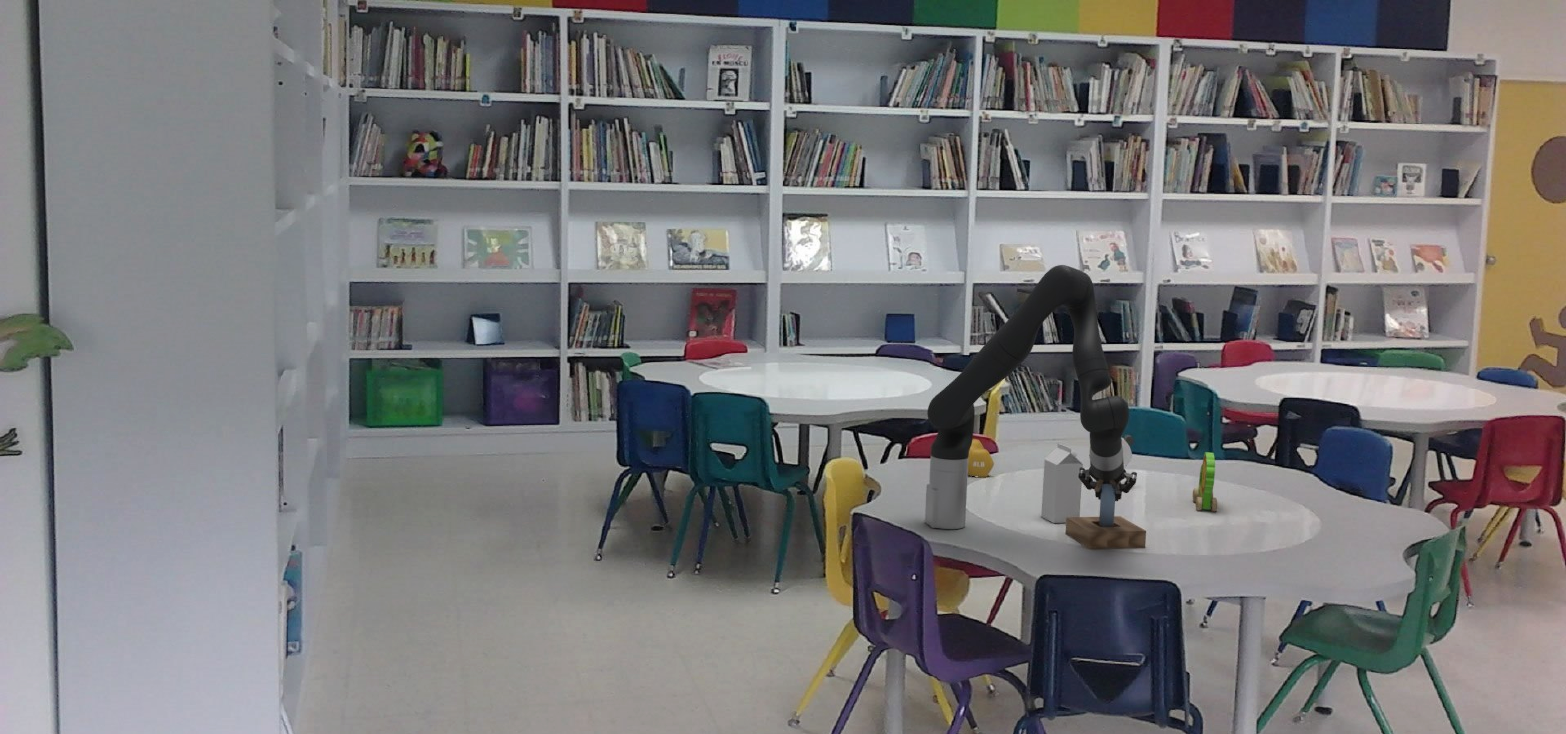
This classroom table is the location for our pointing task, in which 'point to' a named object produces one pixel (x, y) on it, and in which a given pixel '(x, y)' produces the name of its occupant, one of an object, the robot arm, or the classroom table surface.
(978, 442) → the dumbbell
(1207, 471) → the toy lion
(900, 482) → the classroom table surface
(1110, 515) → the peg
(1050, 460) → the milk carton
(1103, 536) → the socket
